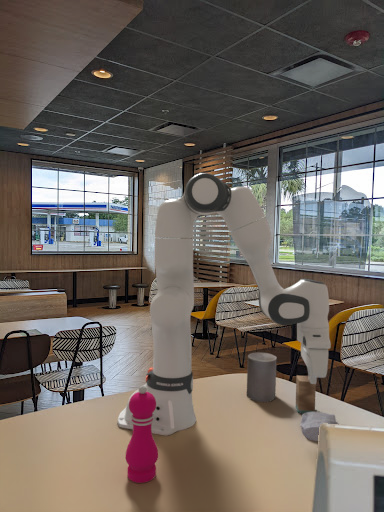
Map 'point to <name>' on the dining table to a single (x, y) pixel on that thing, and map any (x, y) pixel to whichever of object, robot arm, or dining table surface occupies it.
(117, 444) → the dining table surface
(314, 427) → the stone block
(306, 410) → the walnut block
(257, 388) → the pillar candle
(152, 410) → the pepper mill
